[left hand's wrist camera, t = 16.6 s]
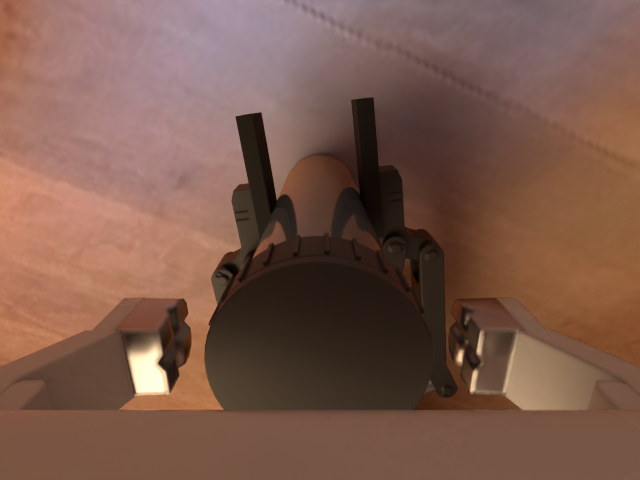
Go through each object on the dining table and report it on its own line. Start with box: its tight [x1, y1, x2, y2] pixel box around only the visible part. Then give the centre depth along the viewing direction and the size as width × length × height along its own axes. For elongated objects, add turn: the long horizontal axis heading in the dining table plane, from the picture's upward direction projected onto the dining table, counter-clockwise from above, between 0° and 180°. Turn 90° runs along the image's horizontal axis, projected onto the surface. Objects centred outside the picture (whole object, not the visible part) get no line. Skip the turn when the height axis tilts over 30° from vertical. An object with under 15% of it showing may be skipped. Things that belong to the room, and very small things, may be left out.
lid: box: [205, 233, 433, 410], centre depth 9 cm, size 5×5×2 cm
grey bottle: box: [252, 155, 387, 259], centre depth 17 cm, size 5×5×17 cm
